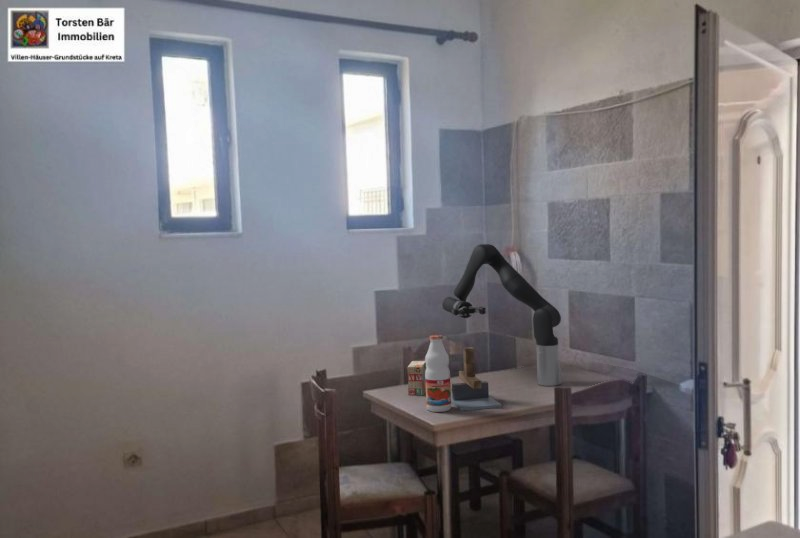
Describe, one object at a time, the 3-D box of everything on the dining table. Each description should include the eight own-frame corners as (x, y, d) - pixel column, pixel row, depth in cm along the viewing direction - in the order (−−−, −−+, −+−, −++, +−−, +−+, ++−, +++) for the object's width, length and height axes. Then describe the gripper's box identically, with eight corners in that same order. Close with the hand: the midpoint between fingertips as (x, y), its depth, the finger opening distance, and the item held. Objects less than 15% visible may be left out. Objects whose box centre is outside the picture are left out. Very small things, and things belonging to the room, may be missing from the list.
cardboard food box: (416, 384, 280) (415, 356, 279) (430, 384, 279) (428, 356, 278) (408, 395, 259) (407, 366, 258) (423, 395, 258) (422, 366, 257)
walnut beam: (466, 377, 256) (465, 343, 255) (482, 388, 236) (480, 351, 236) (458, 378, 255) (457, 344, 255) (473, 389, 236) (471, 352, 235)
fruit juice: (449, 405, 240) (447, 333, 239) (452, 411, 231) (450, 336, 230) (425, 406, 240) (422, 334, 239) (427, 413, 230) (424, 338, 229)
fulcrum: (479, 391, 260) (479, 375, 260) (501, 407, 235) (500, 388, 234) (442, 394, 257) (442, 378, 257) (460, 410, 232) (459, 392, 231)
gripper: (447, 301, 285) (457, 305, 269) (477, 300, 287) (488, 303, 271) (448, 318, 285) (458, 322, 269) (478, 316, 288) (489, 320, 272)
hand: (473, 312), depth 270 cm, fingers open, 8 cm apart
